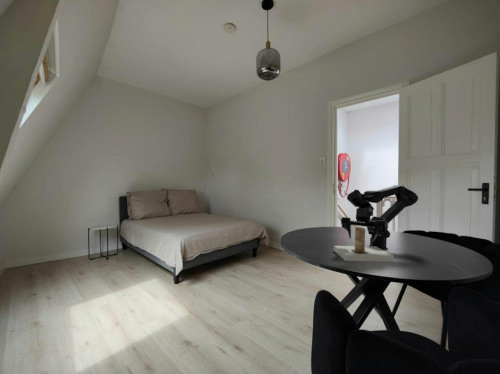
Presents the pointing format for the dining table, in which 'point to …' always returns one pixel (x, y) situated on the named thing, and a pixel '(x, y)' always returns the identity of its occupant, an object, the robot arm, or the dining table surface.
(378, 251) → the grey socket board
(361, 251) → the oak peg
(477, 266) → the dining table surface
